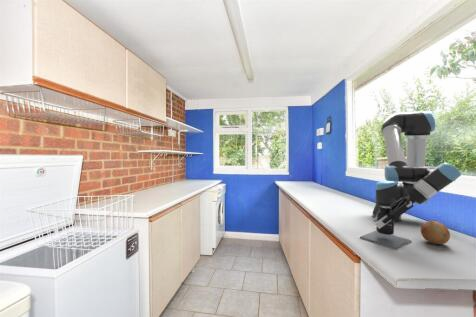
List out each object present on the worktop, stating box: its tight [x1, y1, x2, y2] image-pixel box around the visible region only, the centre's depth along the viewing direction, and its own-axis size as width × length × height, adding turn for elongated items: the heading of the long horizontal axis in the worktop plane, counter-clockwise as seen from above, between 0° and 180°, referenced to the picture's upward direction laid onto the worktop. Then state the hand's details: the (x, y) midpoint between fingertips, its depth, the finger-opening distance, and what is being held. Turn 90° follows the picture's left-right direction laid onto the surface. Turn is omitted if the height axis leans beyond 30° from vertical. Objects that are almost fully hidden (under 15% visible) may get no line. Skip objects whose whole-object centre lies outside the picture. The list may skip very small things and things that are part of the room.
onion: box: [420, 220, 451, 245], centre depth 97 cm, size 10×10×10 cm
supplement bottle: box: [375, 206, 395, 235], centre depth 101 cm, size 7×7×12 cm
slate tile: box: [359, 230, 412, 250], centre depth 102 cm, size 15×15×1 cm
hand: (376, 224), depth 103 cm, fingers closed on supplement bottle, 7 cm apart
